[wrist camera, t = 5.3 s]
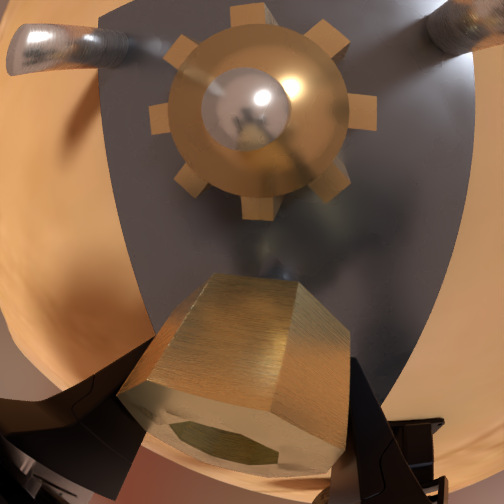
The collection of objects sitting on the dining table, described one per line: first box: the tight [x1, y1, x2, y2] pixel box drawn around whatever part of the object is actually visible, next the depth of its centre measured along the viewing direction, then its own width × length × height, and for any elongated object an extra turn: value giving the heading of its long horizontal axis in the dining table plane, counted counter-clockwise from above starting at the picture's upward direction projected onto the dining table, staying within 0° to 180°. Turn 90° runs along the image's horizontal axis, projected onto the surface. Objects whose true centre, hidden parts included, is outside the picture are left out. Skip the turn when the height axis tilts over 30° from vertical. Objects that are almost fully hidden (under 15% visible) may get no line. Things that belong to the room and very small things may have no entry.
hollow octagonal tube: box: [116, 273, 350, 478], centre depth 8 cm, size 6×6×4 cm
